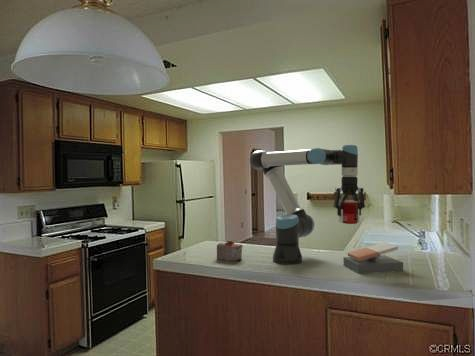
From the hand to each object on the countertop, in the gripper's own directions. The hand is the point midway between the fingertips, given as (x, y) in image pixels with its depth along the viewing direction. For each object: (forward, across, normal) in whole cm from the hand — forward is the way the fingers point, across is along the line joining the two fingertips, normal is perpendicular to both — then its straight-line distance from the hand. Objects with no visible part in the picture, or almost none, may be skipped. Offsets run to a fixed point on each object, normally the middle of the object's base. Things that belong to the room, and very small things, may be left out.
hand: (349, 222), depth 161 cm
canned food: (+1, 0, 0) cm, 1 cm away
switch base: (+21, +8, -9) cm, 24 cm away
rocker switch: (+14, +8, -9) cm, 18 cm away
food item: (+22, -58, +18) cm, 64 cm away
